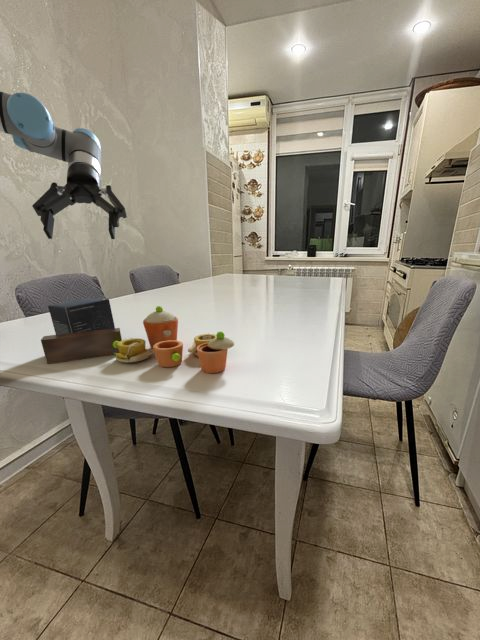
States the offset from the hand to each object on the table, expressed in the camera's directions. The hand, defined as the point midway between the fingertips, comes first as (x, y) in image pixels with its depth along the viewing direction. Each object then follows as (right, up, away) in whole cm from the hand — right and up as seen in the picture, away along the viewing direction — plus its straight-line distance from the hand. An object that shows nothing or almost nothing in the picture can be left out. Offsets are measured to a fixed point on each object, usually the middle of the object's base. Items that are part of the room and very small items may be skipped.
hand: (80, 234), depth 69 cm
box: (+3, -27, -1) cm, 27 cm away
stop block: (+6, -29, -7) cm, 30 cm away
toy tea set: (+26, -29, -8) cm, 40 cm away
